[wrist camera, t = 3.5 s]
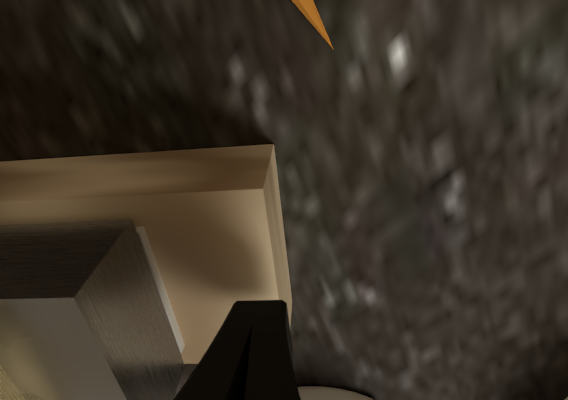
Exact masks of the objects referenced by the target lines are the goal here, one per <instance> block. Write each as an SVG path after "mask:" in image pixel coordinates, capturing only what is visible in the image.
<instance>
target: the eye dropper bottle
mask: <svg viewBox="0 0 568 400" xmlns="http://www.w3.org/2000/svg"><path fill="white" fill-rule="evenodd" d="M298 391H299V395H300V398H301V400H373V399H372V398H369V397H367V396H365V395H362V394H359V393H356V392H352V391H348V390H344V389H339V388H332V387H322V386H303V387H298Z"/></svg>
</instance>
